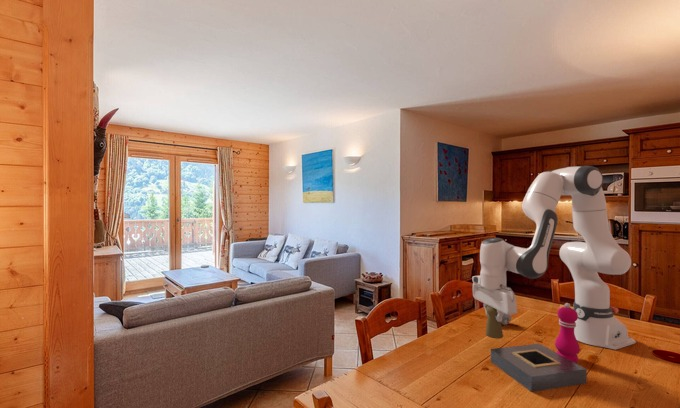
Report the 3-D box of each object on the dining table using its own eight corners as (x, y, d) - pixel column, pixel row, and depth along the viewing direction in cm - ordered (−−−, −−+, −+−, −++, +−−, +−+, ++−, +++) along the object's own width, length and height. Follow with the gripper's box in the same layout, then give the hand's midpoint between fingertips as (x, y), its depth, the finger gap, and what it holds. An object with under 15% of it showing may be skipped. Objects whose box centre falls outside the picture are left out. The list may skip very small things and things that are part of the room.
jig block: (538, 355, 117) (539, 342, 117) (586, 383, 99) (586, 368, 99) (490, 361, 113) (490, 348, 112) (531, 391, 95) (531, 375, 95)
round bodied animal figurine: (484, 329, 147) (479, 313, 146) (500, 315, 153) (495, 299, 151) (499, 334, 141) (493, 317, 140) (514, 319, 146) (510, 303, 145)
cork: (505, 339, 117) (504, 309, 117) (487, 337, 118) (486, 308, 118) (500, 332, 123) (500, 303, 123) (483, 331, 124) (483, 303, 124)
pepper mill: (575, 355, 117) (575, 301, 116) (583, 365, 110) (583, 307, 110) (552, 352, 119) (552, 299, 119) (558, 362, 112) (558, 305, 112)
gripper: (521, 288, 111) (522, 328, 111) (483, 274, 131) (483, 308, 131) (505, 290, 109) (506, 330, 110) (469, 276, 129) (470, 310, 130)
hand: (493, 318), depth 121 cm, fingers closed on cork, 4 cm apart
